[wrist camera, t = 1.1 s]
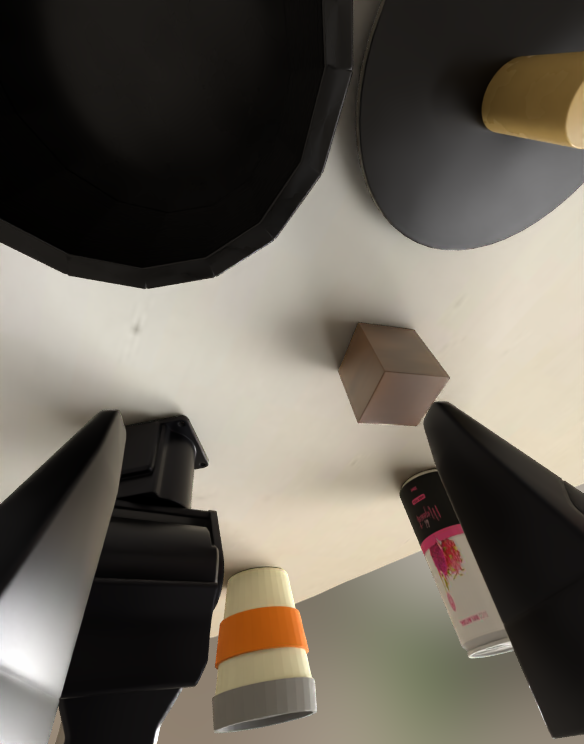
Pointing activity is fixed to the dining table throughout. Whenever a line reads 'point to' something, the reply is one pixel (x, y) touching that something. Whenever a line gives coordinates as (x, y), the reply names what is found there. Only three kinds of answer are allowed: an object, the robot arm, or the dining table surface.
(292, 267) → the dining table surface
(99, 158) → the tin
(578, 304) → the dining table surface
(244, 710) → the reusable coffee cup
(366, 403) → the block
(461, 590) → the beverage can
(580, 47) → the tin lid
